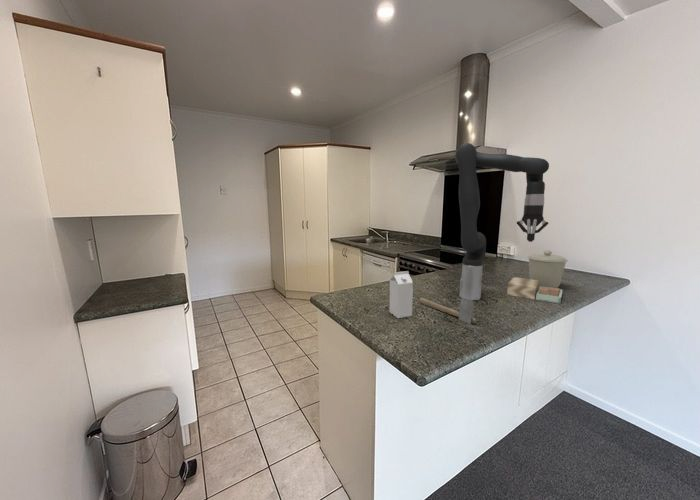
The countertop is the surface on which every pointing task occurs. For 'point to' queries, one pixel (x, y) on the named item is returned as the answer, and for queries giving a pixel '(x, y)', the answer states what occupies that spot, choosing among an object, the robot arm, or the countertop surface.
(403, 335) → the countertop surface
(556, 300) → the bin
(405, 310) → the milk carton
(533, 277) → the canister
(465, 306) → the long-handled mallet
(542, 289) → the terracotta tile
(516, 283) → the zigzag patterned block
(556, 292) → the terracotta tile
